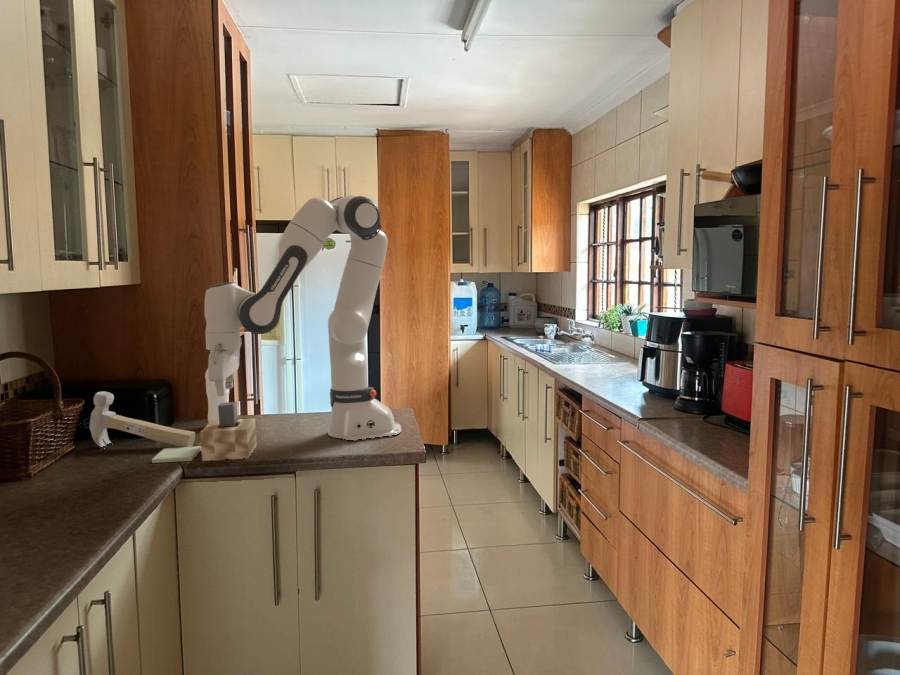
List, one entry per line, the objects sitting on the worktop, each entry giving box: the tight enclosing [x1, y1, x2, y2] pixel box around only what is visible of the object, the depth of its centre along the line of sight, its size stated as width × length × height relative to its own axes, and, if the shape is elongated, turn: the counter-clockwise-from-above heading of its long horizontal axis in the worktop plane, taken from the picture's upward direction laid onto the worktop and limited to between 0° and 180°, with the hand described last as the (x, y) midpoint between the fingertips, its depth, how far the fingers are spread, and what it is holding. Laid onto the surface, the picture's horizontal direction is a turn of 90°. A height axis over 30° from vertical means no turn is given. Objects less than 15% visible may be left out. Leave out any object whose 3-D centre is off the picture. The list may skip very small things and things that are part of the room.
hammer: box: [89, 390, 196, 448], centre depth 172 cm, size 16×5×30 cm
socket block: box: [199, 418, 257, 462], centre depth 165 cm, size 12×12×8 cm
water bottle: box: [204, 350, 230, 424], centre depth 193 cm, size 7×7×25 cm
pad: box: [151, 445, 202, 464], centre depth 164 cm, size 10×10×1 cm
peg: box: [218, 401, 238, 428], centre depth 165 cm, size 4×4×12 cm
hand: (225, 392), depth 163 cm, fingers open, 8 cm apart
